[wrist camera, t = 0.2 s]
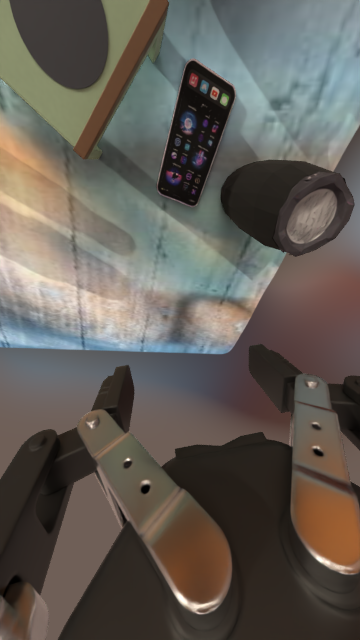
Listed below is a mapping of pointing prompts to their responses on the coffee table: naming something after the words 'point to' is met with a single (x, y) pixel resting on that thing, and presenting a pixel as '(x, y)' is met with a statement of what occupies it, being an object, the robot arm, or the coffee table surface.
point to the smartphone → (194, 132)
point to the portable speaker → (288, 204)
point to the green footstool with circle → (77, 59)
